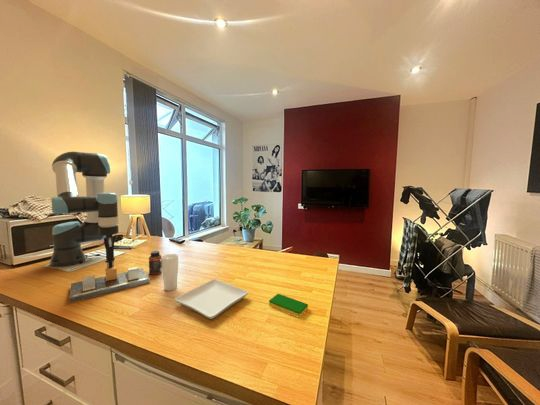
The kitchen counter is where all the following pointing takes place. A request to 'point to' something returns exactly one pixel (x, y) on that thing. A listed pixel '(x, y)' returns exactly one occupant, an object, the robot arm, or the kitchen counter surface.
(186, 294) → the salad plate
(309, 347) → the kitchen counter surface
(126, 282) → the panel
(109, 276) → the toggle
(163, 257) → the white tumbler
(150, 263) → the supplement bottle
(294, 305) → the dish sponge
